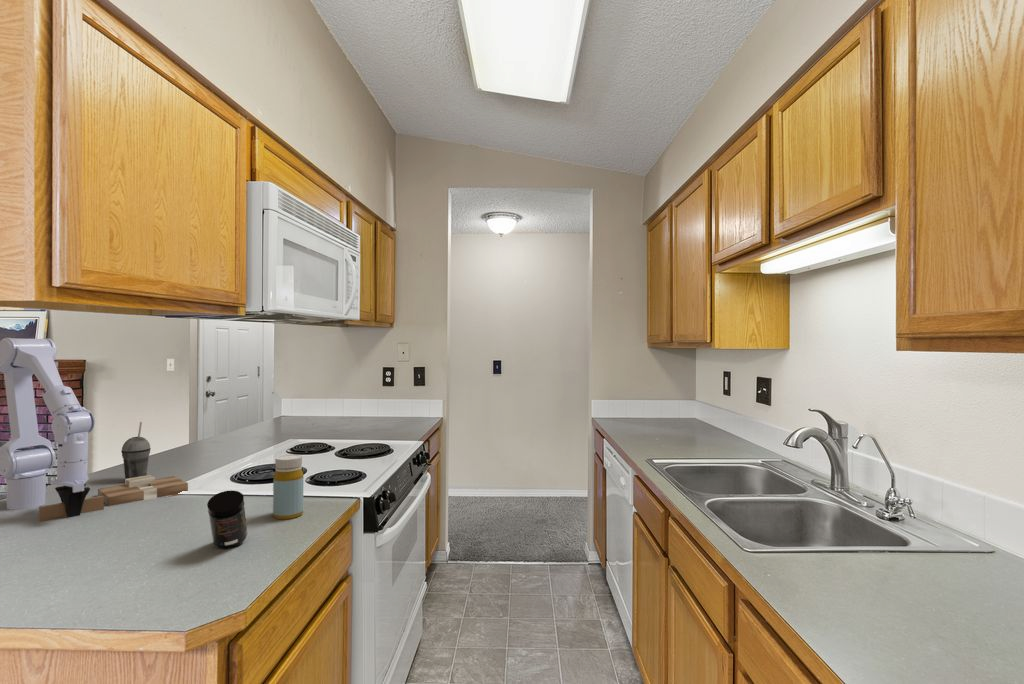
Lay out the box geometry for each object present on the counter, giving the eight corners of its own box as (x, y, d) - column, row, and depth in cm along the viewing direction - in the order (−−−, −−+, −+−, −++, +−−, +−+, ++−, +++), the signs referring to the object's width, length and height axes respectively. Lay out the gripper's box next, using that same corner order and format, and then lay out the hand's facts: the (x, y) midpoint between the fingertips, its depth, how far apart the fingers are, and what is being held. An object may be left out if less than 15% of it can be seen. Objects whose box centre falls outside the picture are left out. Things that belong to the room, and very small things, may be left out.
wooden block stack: (97, 503, 139) (97, 483, 139) (173, 489, 153) (173, 470, 153) (110, 514, 130) (110, 492, 130) (189, 498, 143) (189, 478, 144)
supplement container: (243, 523, 115) (239, 486, 111) (251, 542, 110) (247, 504, 106) (210, 535, 111) (204, 497, 107) (216, 555, 106) (210, 516, 102)
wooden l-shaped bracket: (33, 520, 125) (33, 500, 125) (95, 508, 134) (95, 489, 134) (39, 529, 119) (39, 507, 119) (103, 516, 128) (103, 496, 128)
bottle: (293, 509, 134) (293, 453, 134) (308, 515, 130) (309, 456, 130) (267, 517, 128) (268, 457, 128) (282, 522, 124) (283, 461, 124)
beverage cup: (116, 488, 153) (117, 422, 153) (144, 483, 159) (145, 419, 159) (126, 492, 149) (126, 424, 149) (154, 487, 155) (155, 421, 155)
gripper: (45, 459, 126) (45, 513, 126) (56, 468, 116) (55, 527, 116) (82, 454, 131) (81, 506, 131) (95, 462, 122) (94, 519, 122)
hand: (72, 516), depth 124 cm, fingers open, 3 cm apart
